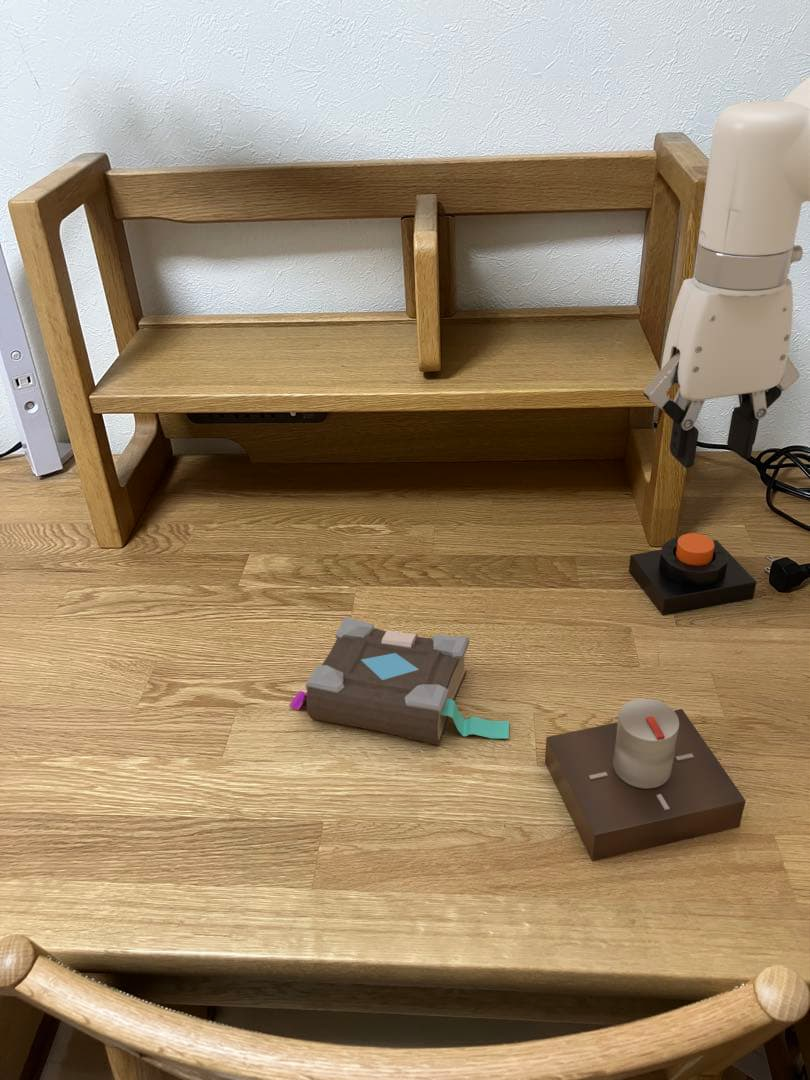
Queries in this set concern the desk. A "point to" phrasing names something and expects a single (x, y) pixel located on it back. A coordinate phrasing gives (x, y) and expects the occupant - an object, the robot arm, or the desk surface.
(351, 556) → the desk surface
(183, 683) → the desk surface
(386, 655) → the book
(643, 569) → the button block
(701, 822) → the panel
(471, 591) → the desk surface
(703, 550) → the button
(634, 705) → the knob
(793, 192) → the robot arm
